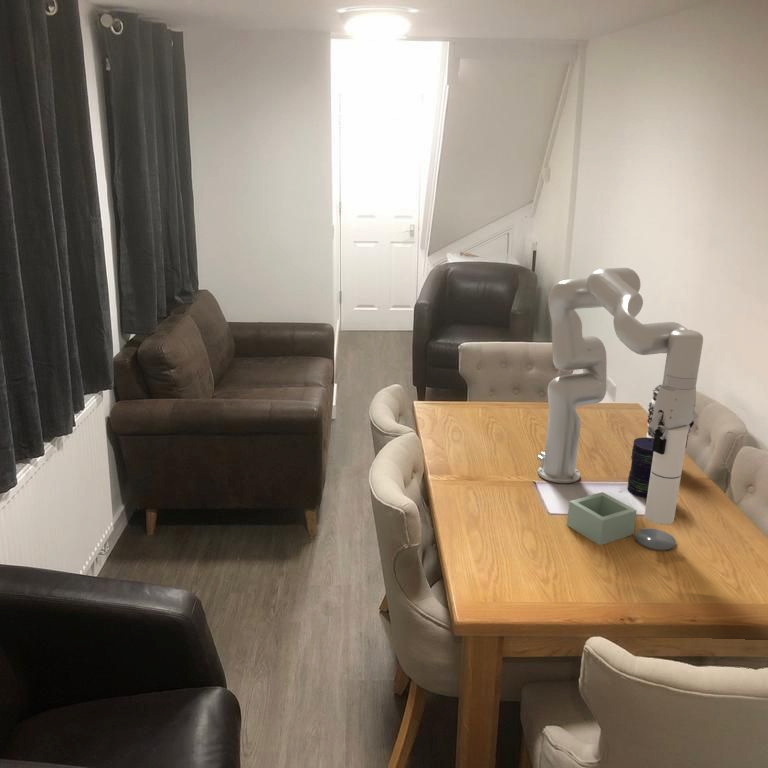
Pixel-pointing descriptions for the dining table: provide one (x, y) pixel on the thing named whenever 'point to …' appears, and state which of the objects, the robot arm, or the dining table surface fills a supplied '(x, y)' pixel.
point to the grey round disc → (655, 539)
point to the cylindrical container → (666, 477)
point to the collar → (601, 518)
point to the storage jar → (640, 467)
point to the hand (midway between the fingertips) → (669, 449)
